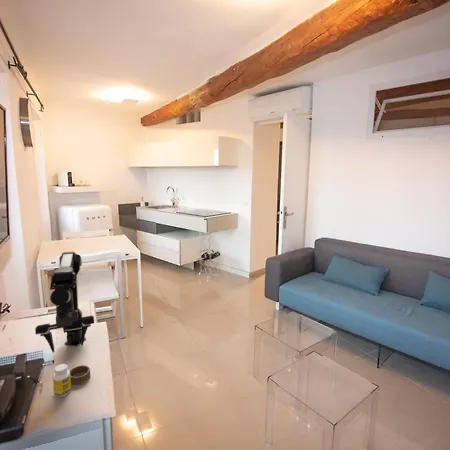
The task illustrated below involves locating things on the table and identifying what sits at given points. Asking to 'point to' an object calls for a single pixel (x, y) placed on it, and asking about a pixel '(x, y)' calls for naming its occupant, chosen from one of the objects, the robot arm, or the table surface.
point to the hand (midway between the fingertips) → (68, 349)
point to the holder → (79, 379)
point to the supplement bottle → (61, 380)
